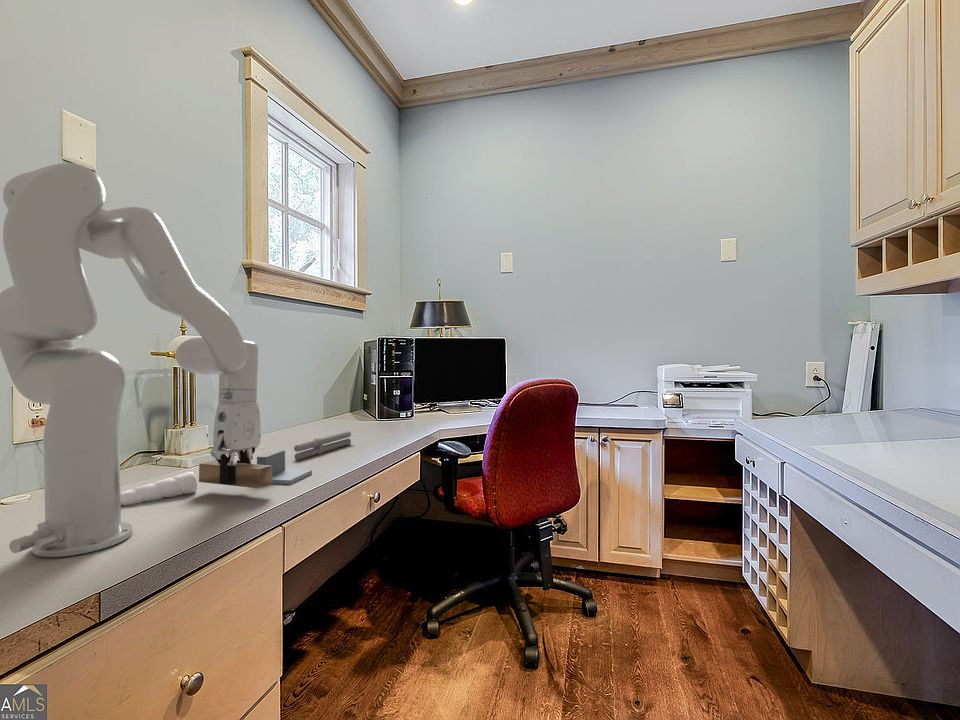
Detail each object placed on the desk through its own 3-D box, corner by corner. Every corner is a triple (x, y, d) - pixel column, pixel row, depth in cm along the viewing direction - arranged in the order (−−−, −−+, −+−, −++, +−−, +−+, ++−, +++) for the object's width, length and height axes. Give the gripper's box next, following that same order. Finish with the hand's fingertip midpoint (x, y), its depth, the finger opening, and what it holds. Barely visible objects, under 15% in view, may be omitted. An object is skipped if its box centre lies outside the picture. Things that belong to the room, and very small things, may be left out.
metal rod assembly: (345, 445, 162) (345, 430, 162) (352, 445, 162) (352, 430, 162) (291, 461, 138) (291, 444, 138) (299, 462, 137) (299, 444, 137)
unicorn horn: (53, 514, 93) (52, 489, 93) (193, 490, 109) (193, 469, 109) (53, 520, 90) (52, 494, 90) (198, 494, 106) (197, 473, 106)
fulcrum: (290, 484, 113) (289, 458, 112) (228, 481, 115) (228, 456, 115) (312, 473, 122) (311, 450, 122) (254, 471, 125) (254, 448, 125)
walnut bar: (257, 488, 100) (258, 469, 100) (198, 481, 105) (199, 463, 105) (271, 484, 104) (272, 465, 104) (214, 478, 109) (214, 460, 109)
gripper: (226, 399, 96) (223, 491, 96) (276, 396, 113) (274, 474, 112) (193, 398, 97) (190, 489, 97) (247, 395, 114) (244, 472, 114)
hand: (235, 480), depth 105 cm, fingers closed on walnut bar, 4 cm apart
